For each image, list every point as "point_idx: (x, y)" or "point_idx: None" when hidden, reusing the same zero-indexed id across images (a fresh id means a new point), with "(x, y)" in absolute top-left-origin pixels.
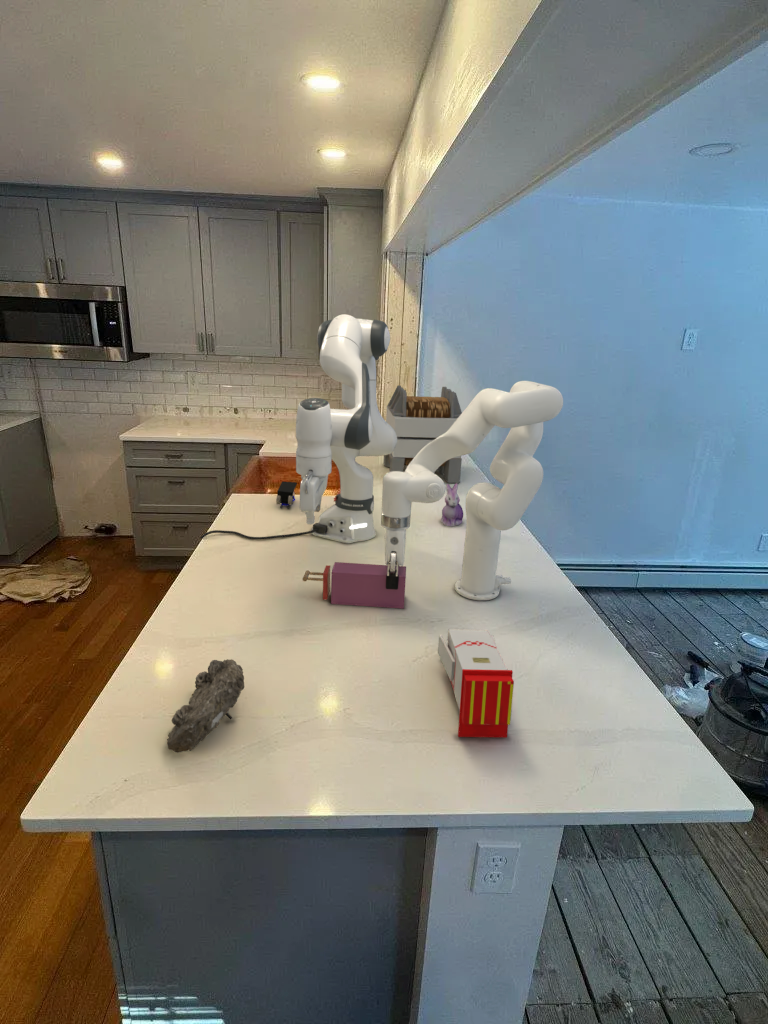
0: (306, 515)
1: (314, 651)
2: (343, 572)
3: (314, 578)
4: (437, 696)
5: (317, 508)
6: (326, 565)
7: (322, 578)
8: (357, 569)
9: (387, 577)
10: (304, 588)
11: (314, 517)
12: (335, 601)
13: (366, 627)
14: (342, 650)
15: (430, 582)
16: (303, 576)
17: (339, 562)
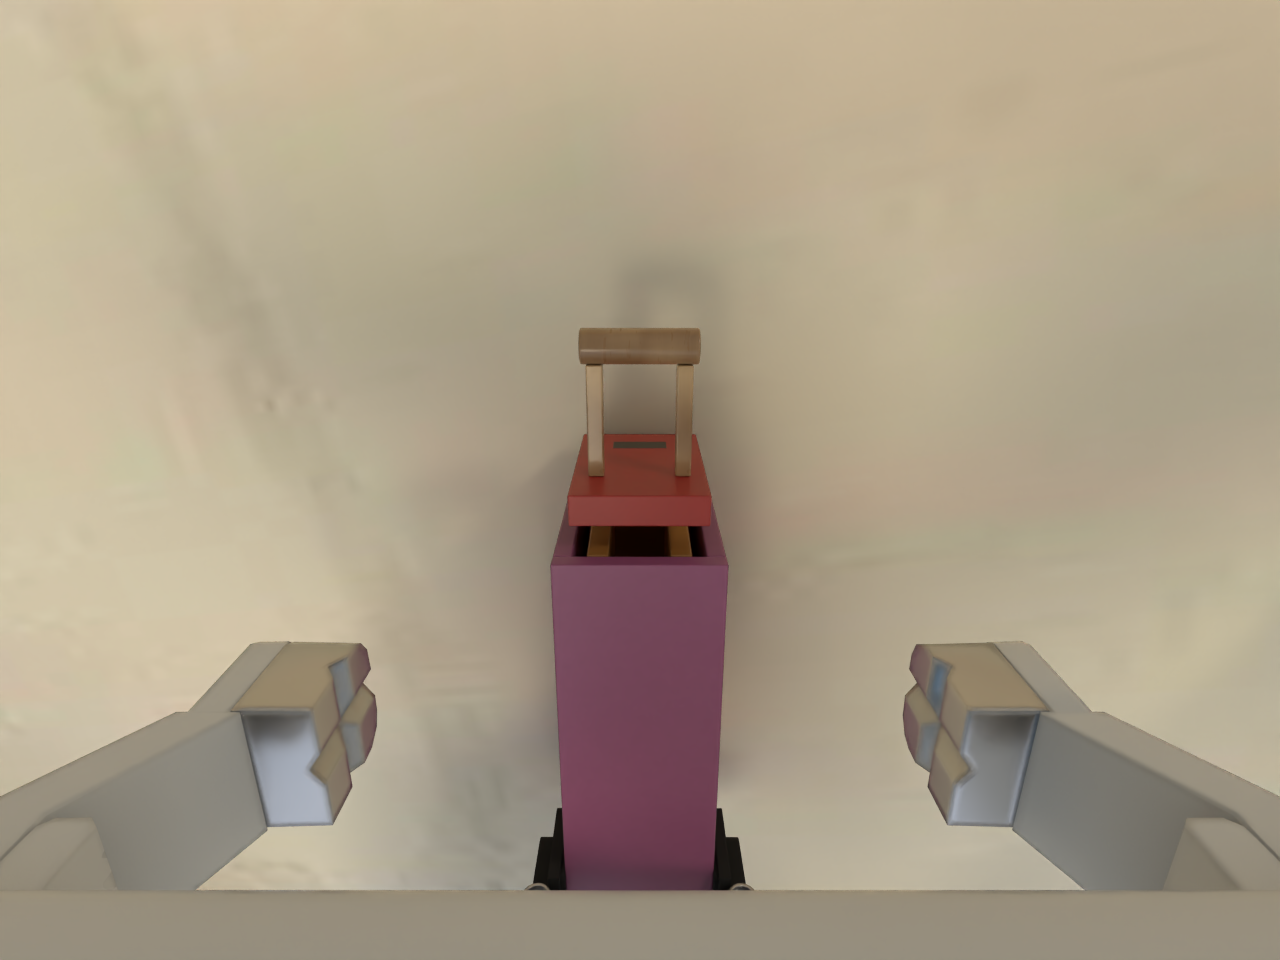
0: (96, 762)
1: (106, 461)
2: (558, 641)
3: (589, 416)
4: None
5: (938, 743)
6: (708, 499)
7: (598, 469)
8: (623, 717)
9: (549, 870)
10: (747, 289)
11: (327, 805)
12: None
13: (383, 658)
14: (162, 579)
15: (858, 888)
16: (605, 332)
17: (722, 597)
